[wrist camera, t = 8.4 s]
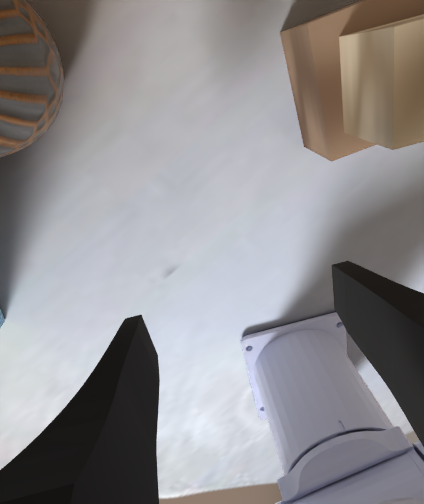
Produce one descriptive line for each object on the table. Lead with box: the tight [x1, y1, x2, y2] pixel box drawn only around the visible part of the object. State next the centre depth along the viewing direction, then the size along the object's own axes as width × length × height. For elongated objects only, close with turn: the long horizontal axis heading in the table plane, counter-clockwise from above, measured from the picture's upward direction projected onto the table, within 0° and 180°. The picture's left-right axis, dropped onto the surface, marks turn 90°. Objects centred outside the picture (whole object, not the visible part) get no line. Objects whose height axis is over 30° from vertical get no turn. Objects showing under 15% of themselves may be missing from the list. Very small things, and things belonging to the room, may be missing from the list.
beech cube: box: [339, 14, 424, 150], centre depth 14 cm, size 4×4×4 cm
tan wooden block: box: [280, 0, 424, 161], centre depth 18 cm, size 6×6×4 cm
